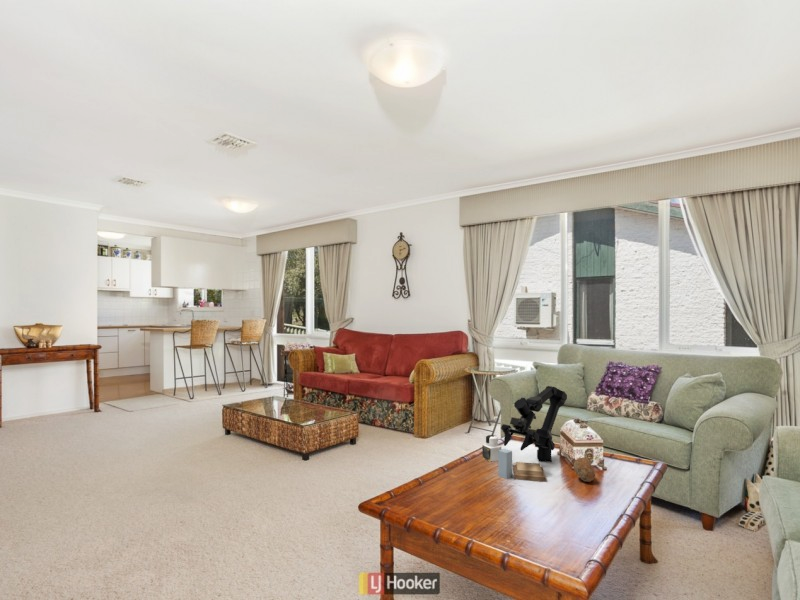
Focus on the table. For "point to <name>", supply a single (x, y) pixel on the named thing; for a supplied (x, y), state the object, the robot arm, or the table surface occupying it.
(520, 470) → the plinth
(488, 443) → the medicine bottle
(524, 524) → the table surface
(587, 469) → the brown rock
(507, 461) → the block
